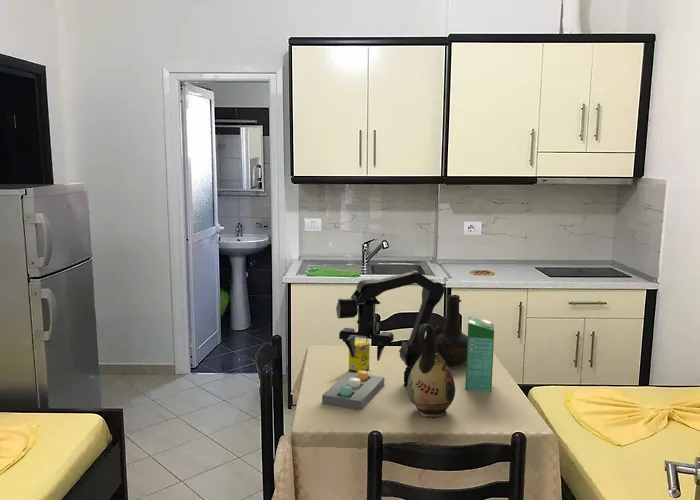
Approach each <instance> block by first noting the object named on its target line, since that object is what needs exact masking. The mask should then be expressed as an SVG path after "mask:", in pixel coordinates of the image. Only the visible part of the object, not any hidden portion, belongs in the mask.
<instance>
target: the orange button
mask: <svg viewBox="0 0 700 500" xmlns="http://www.w3.org/2000/svg"><path fill="white" fill-rule="evenodd" d="M368 375H369V371H368V370H367V371H364V370H361V371H358V372H357V378H359V379H360V381H368Z"/></svg>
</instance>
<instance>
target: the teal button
mask: <svg viewBox="0 0 700 500" xmlns="http://www.w3.org/2000/svg"><path fill="white" fill-rule="evenodd" d="M340 396H343V397H349V398H350V397H351V396H352V387H351V386H347V385H345V386H341V387H340Z"/></svg>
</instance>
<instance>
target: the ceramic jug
mask: <svg viewBox="0 0 700 500" xmlns="http://www.w3.org/2000/svg"><path fill="white" fill-rule="evenodd" d="M425 331H426V332H425ZM443 332H444V327H443V326H440V325H436V326H435V327H433V326H432V324H422V325H420V326H419V329H418V341H419V345H420V349H421V353H422V355H421V356H420V357H419V359H418V360H417V362H416V363H415V365H414V366H413V368H412V370H411V373H410V375H409V379H408V385H407V386H406V387H407V388H406V389H407V390H406V391H407V396H408V398H409V400H410V401H411V403H412V404H413V406H414V407H416V410H417V412H418V413H419V415H421V416H422V417H430V418H433V417H434V418H435V417H437V418H438V417H442V416H445V415H447V410H448V408H449V407H450V406H451V404H452V403H453V401H454V398H455V397H456V385H455V380H454V376H453V373H452V371H451V370H450V366H448V365H447V364H446V362H445V361H444V359H443V358H442V357H441V355H440V354H439V353H438V351H437V349H436V346H435V343H436V339H437V337H438V336H439V335H440V334H442V333H443Z"/></svg>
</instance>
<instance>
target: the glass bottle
mask: <svg viewBox="0 0 700 500" xmlns="http://www.w3.org/2000/svg"><path fill="white" fill-rule="evenodd" d="M446 301H447V302H448V303H447V312H446V318H445V323H444V327H443V329H444V332H443V333H442V334H440V335H439V336H438V337H437V339H436V343H435V346H436V349H437V351H438V353H439V354H440V355H441V357H442V358H443V359H444V361H445V362H446V364H447V366H448V367H458V366H459V367H460V366H462V365H464V364H465V363H467V340H468V335H466V334H465V333H464V332H462V329H461V321H460V303H461V302H462V300H461V299H460V295H458V294H449V295H448V298H447V299H446Z"/></svg>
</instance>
